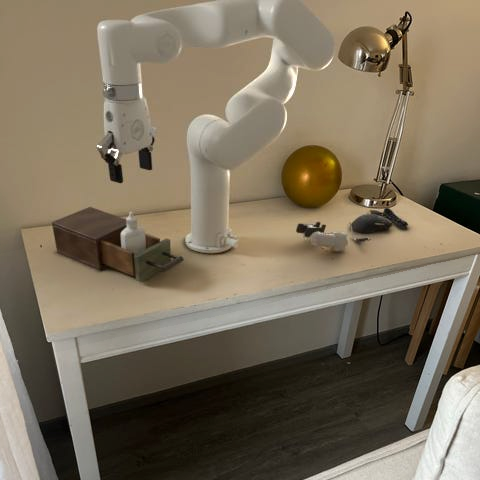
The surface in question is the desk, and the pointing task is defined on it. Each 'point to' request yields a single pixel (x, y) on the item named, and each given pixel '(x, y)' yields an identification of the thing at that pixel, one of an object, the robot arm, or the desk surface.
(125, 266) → the drawer
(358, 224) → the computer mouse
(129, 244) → the eye dropper bottle
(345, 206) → the desk surface
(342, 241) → the clip-on lamp
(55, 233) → the cabinet
